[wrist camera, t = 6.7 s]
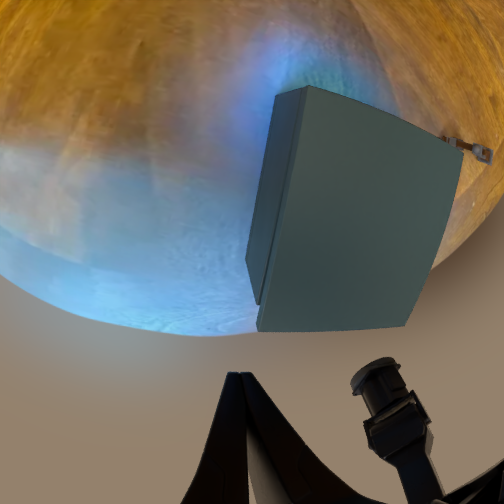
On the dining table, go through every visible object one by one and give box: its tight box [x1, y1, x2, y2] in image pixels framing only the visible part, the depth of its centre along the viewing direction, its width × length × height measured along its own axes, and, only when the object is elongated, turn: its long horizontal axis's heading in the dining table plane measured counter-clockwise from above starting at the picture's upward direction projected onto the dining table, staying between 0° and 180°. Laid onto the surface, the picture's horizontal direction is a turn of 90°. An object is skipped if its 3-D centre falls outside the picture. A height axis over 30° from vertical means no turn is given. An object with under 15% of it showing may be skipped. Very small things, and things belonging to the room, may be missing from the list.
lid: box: [256, 85, 464, 332], centre depth 14 cm, size 13×12×1 cm
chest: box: [245, 88, 303, 305], centre depth 17 cm, size 13×12×6 cm
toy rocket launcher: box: [443, 136, 493, 165], centre depth 18 cm, size 2×8×4 cm, turn 88°
